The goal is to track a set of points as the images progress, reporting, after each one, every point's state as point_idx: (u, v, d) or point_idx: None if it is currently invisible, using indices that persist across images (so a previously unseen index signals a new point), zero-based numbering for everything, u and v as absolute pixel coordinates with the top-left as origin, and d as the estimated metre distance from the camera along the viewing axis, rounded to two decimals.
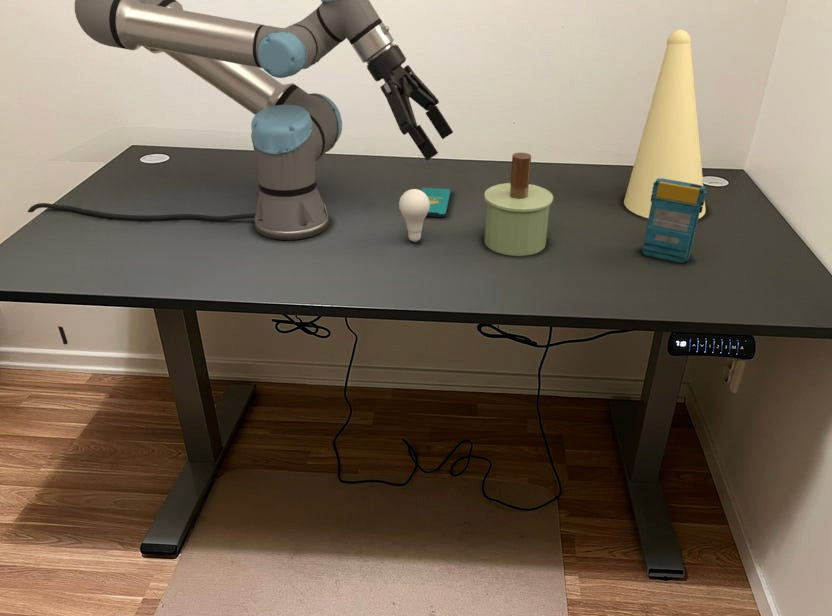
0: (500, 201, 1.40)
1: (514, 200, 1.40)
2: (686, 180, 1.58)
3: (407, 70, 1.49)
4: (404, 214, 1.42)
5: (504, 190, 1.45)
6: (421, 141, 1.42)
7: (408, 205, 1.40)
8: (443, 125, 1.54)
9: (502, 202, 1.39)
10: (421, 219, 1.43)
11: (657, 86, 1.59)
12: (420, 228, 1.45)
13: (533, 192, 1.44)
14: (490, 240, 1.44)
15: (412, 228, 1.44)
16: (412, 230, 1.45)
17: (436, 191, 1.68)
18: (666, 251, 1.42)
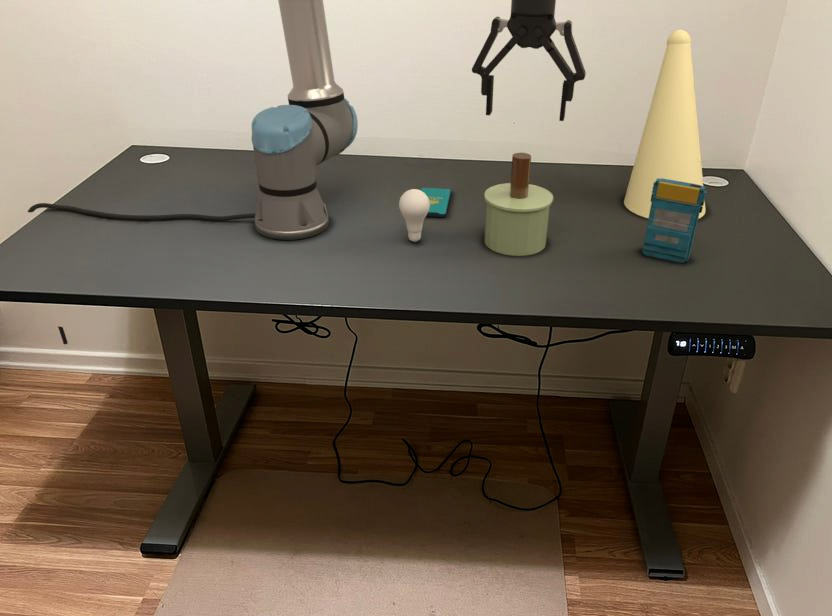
0: (500, 201, 1.40)
1: (514, 200, 1.40)
2: (686, 180, 1.58)
3: (564, 27, 1.23)
4: (404, 214, 1.42)
5: (504, 190, 1.45)
6: None
7: (408, 205, 1.40)
8: (561, 106, 1.31)
9: (502, 202, 1.39)
10: (421, 219, 1.43)
11: (657, 86, 1.59)
12: (420, 228, 1.45)
13: (533, 192, 1.44)
14: (490, 240, 1.44)
15: (412, 228, 1.44)
16: (412, 230, 1.45)
17: (436, 191, 1.68)
18: (666, 251, 1.42)
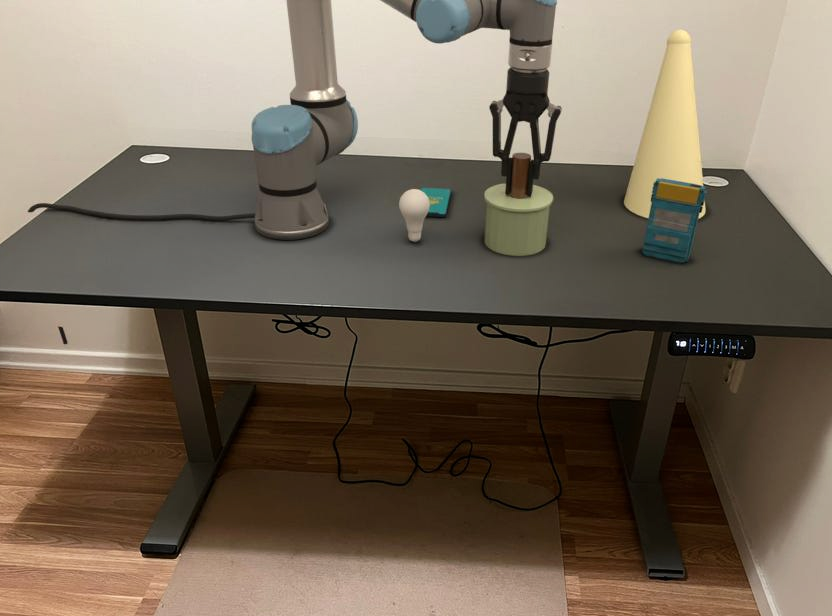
0: (500, 201, 1.40)
1: (514, 200, 1.40)
2: (686, 180, 1.58)
3: (554, 111, 1.31)
4: (404, 214, 1.42)
5: (504, 190, 1.45)
6: None
7: (408, 205, 1.40)
8: (528, 183, 1.40)
9: (502, 202, 1.39)
10: (421, 219, 1.43)
11: (657, 86, 1.59)
12: (420, 228, 1.45)
13: (533, 192, 1.44)
14: (490, 240, 1.44)
15: (412, 228, 1.44)
16: (412, 230, 1.45)
17: (436, 191, 1.68)
18: (666, 251, 1.42)
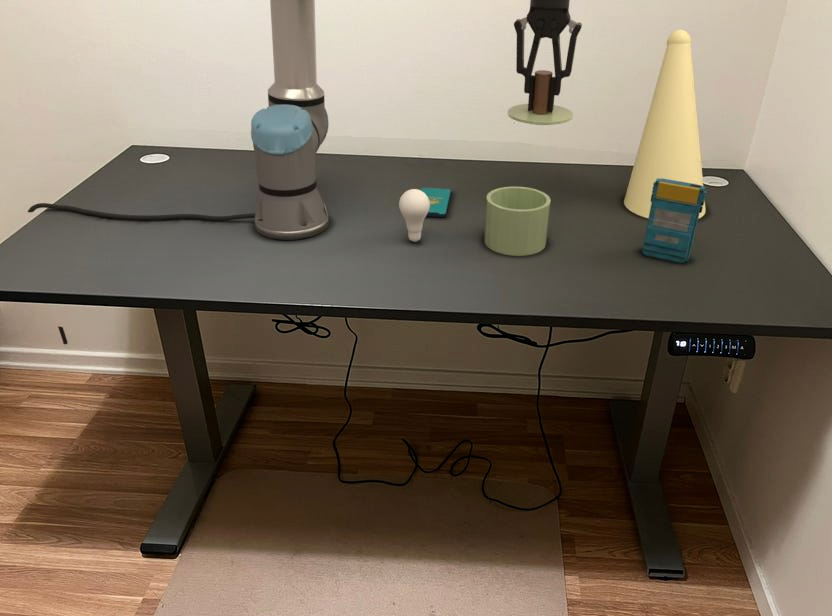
0: (523, 116, 1.49)
1: (536, 116, 1.49)
2: (686, 180, 1.58)
3: (574, 26, 1.40)
4: (404, 214, 1.42)
5: (526, 108, 1.53)
6: (524, 90, 1.49)
7: (408, 205, 1.40)
8: None
9: (525, 117, 1.48)
10: (421, 219, 1.43)
11: (657, 86, 1.59)
12: (420, 228, 1.45)
13: (554, 110, 1.53)
14: (490, 240, 1.44)
15: (412, 228, 1.44)
16: (412, 230, 1.45)
17: (436, 191, 1.68)
18: (666, 251, 1.42)
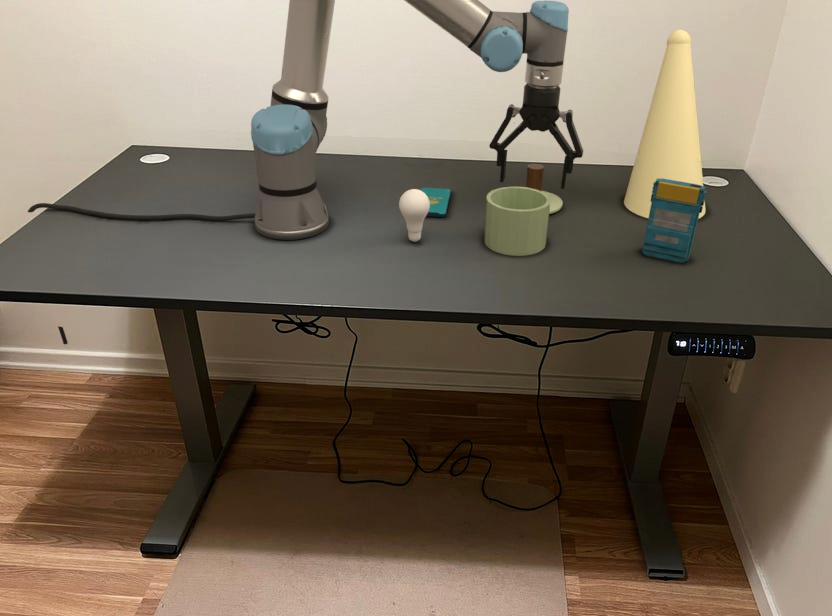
0: None
1: None
2: (686, 180, 1.58)
3: (566, 116, 1.51)
4: (404, 214, 1.42)
5: None
6: (496, 163, 1.60)
7: (408, 205, 1.40)
8: (562, 177, 1.58)
9: None
10: (421, 219, 1.43)
11: (657, 86, 1.59)
12: (420, 228, 1.45)
13: None
14: (490, 240, 1.44)
15: (412, 228, 1.44)
16: (412, 230, 1.45)
17: (436, 191, 1.68)
18: (666, 251, 1.42)
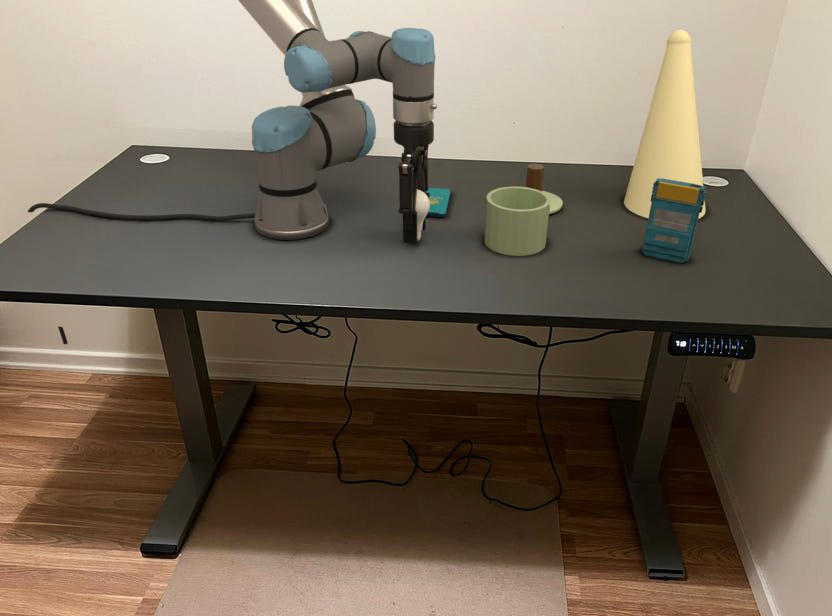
0: None
1: None
2: (686, 180, 1.58)
3: (424, 147, 1.42)
4: None
5: None
6: (410, 228, 1.41)
7: None
8: None
9: None
10: (421, 219, 1.43)
11: (657, 86, 1.59)
12: (420, 228, 1.45)
13: None
14: (490, 240, 1.44)
15: None
16: None
17: (436, 191, 1.68)
18: (666, 251, 1.42)
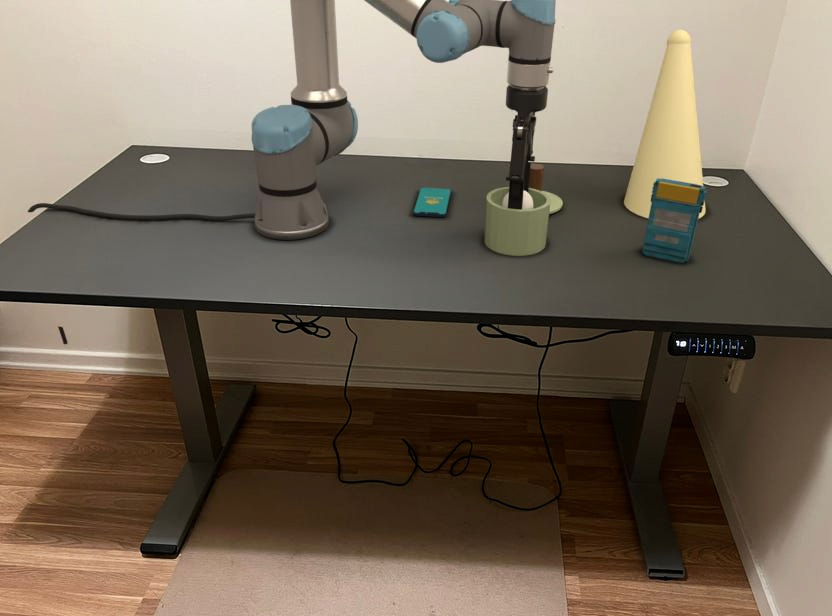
0: None
1: None
2: (686, 180, 1.58)
3: (532, 112, 1.39)
4: None
5: None
6: (517, 196, 1.36)
7: None
8: (524, 183, 1.46)
9: None
10: None
11: (657, 86, 1.59)
12: None
13: None
14: (490, 240, 1.44)
15: None
16: None
17: (436, 191, 1.68)
18: (666, 251, 1.42)
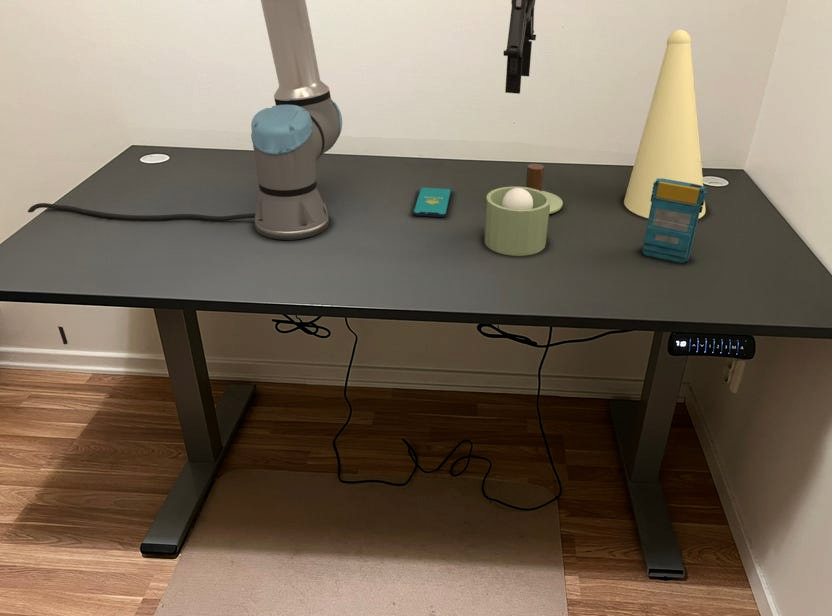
0: None
1: None
2: (686, 180, 1.58)
3: None
4: None
5: None
6: (515, 73, 1.32)
7: (513, 203, 1.41)
8: (525, 64, 1.44)
9: None
10: None
11: (657, 86, 1.59)
12: None
13: None
14: (490, 240, 1.44)
15: None
16: None
17: (436, 191, 1.68)
18: (666, 251, 1.42)
